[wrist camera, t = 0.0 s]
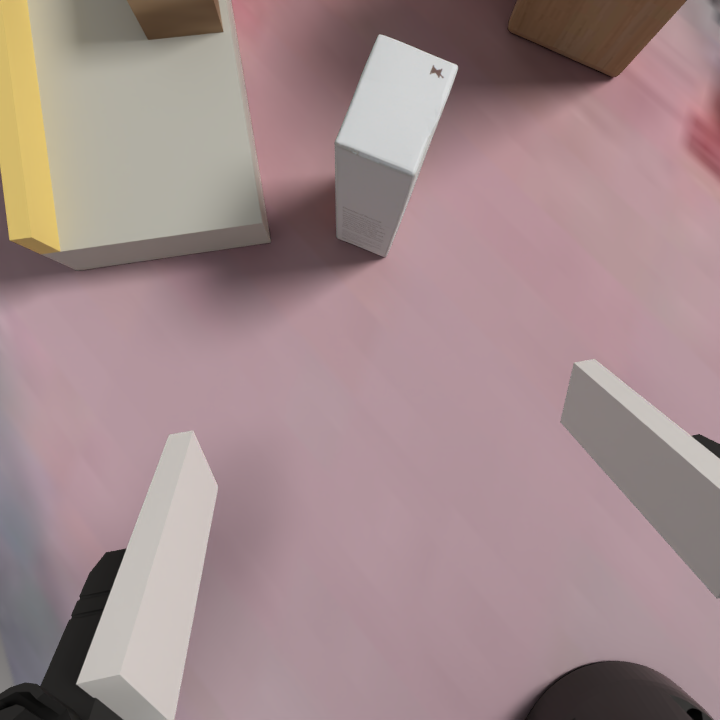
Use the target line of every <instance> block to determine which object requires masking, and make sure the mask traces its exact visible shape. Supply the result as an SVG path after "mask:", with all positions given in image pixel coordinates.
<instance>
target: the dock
mask: <svg viewBox="0 0 720 720" xmlns="http://www.w3.org/2000/svg"><path fill="white" fill-rule="evenodd" d="M218 1H219V7H220V13H221V19H222V25H223V32H220V33H210V34H201V35H191V36H182V37H172V38H163V39H153V40H148V39H147V37H146V35H145V33H144V31H143V30H142V28H141V26H140V24H139V22H138V20H137V18H136V17H135V15H134V13H133V11H132V9H131V7H130V5H129V4H128V2H127V0H0V168H1V176H2V184H3V192H4V200H5V208H6V216H7V224H8V232H9V240H10V241H12V242H14V243H17V244H19V245H21V246H23V247H26V248H28V249H30V250H32V251H34V252H37V253H39V254H41V255H43V256H45V257H48V258H50V259H52V260H54V261H57V262H59V263H61V264H63V265H65V266H68V267H70V268H72V269H74V270H76V271H79V270H86V269H92V268H99V267H106V266H113V265H120V264H127V263H134V262H140V261H147V260H154V259H161V258H168V257H175V256H182V255H188V254H195V253H202V252H209V251H216V250H223V249H230V248H236V247H243V246H250V245H257V244H264V243H271V239H270V233H269V227H268V221H267V215H266V209H265V203H264V197H263V190H262V184H261V178H260V172H259V166H258V160H257V154H256V148H255V142H254V136H253V130H252V124H251V118H250V112H249V105H248V99H247V93H246V87H245V81H244V75H243V69H242V63H241V57H240V51H239V45H238V39H237V33H236V27H235V21H234V14H233V8H232V2H231V0H218Z"/></svg>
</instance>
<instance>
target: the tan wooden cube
mask: <svg viewBox="0 0 720 720" xmlns="http://www.w3.org/2000/svg"><path fill="white" fill-rule="evenodd" d="M127 2H128V4H129V5H130V7H131V9H132V11H133V13H134V15H135V17H136V18H137V20H138V22H139V24H140V26H141V28H142V30H143V31H144V33H145V35H146V37H147V39H148V40H153V39H163V38H172V37H182V36H191V35H201V34H210V33H220V32H223V25H222V19H221V13H220V7H219V1H218V0H127Z"/></svg>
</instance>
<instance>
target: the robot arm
mask: <svg viewBox="0 0 720 720" xmlns="http://www.w3.org/2000/svg"><path fill="white" fill-rule="evenodd" d="M560 422H561V423H562V424H563V426H564V427H565V428H566V429H567V430H568V431H569V432H570V433H571V435H572V436H573V437H574V438H575V439H576V440H577V441H578V442H579V444H580V445H581V446H582V447H583V448H584V449H585V450H586V452H587V453H588V454H589V455H590V456H591V457H592V458H593V459H594V461H595V462H596V463H597V464H598V465H599V466H600V467H601V468H602V470H603V471H604V472H605V473H606V474H607V475H608V476H609V477H610V479H611V480H612V481H613V482H614V483H615V484H616V485H617V486H618V488H619V489H620V490H621V491H622V492H623V493H624V494H625V495H626V497H627V498H628V499H629V500H630V501H631V502H632V503H633V505H634V506H635V507H636V508H637V509H638V510H639V511H640V512H641V514H642V515H643V516H644V517H645V518H646V519H647V520H648V521H649V523H650V524H651V525H652V526H653V527H654V528H655V529H656V530H657V532H658V533H659V534H660V535H661V536H662V537H663V538H664V539H665V541H666V542H667V543H668V544H669V545H670V546H671V547H672V549H673V550H674V551H675V552H676V553H677V554H678V555H679V556H680V558H681V559H682V560H683V561H684V562H685V563H686V564H687V565H688V567H689V568H690V569H691V570H692V571H693V572H694V573H695V574H696V576H697V577H698V578H699V579H700V580H701V581H702V582H703V583H704V585H705V586H706V587H707V588H708V589H709V590H710V591H711V593H712V594H713V595H714V596H715V597H716V598H720V444H718V443H716V442H714V441H712V440H710V439H708V438H706V437H704V436H702V435H700V434H698V435H693V436H690V435H689V434H688V433H687V432H685V431H684V430H683V429H682V428H680V427H679V426H678V425H677V424H675V423H674V422H673V421H672V420H670V419H669V418H668V417H667V416H665V415H664V414H663V413H662V412H660V411H659V410H658V409H657V408H655V407H654V406H653V405H652V404H650V403H649V402H648V401H647V400H645V399H644V398H643V397H642V396H640V395H639V394H638V393H636V392H635V391H634V390H633V389H631V388H630V387H629V386H628V385H626V384H625V383H624V382H623V381H621V380H620V379H619V378H618V377H616V376H615V375H614V374H613V373H611V372H610V371H609V370H608V369H606V368H605V367H604V366H603V365H601V364H600V363H599V362H598V361H596V360H595V359H592V360H586V361H581V362H575V363H574V365H573V369H572V373H571V377H570V382H569V386H568V390H567V395H566V399H565V403H564V408H563V412H562V416H561V421H560ZM217 491H218V485H217V483H216V481H215V478H214V476H213V474H212V472H211V469H210V467H209V465H208V463H207V460H206V458H205V456H204V454H203V452H202V449H201V447H200V445H199V443H198V440H197V438H196V436H195V434H194V431H188V432H182V433H177V434H171V435H169V436H168V439H167V442H166V444H165V447H164V450H163V453H162V455H161V458H160V461H159V463H158V466H157V469H156V471H155V474H154V477H153V479H152V482H151V485H150V487H149V490H148V493H147V495H146V498H145V501H144V503H143V506H142V509H141V511H140V514H139V517H138V520H137V522H136V525H135V528H134V530H133V533H132V536H131V538H130V541H129V544H128V546H127V549H122V550H117V551H111V552H106V553H105V554H104V556H103V557H102V558H101V560H100V561H99V562H98V563H97V565H96V566H95V567H94V568H93V570H92V571H91V572H90V573H89V576H88V578H87V580H86V582H85V585H84V587H83V589H82V592H81V594H80V600H79V601H77V603H76V606H75V608H74V610H73V612H72V615H71V616H72V618H71V620H69V622H68V624H67V626H66V629H65V631H64V633H63V635H62V638H61V640H60V642H59V645H58V647H57V649H56V652H55V654H54V656H53V658H52V661H51V663H50V665H49V668H48V670H47V672H46V675H45V677H44V679H43V682H42V684H41V686H39V685H37V684H32V683H22V684H19V685H16V686H13V687H10V688H9V689H7V690H5V691H4V692H2V693H1V694H0V720H174V719H175V713H176V708H177V703H178V697H179V692H180V687H181V682H182V676H183V671H184V666H185V660H186V655H187V650H188V644H189V639H190V634H191V629H192V623H193V618H194V613H195V607H196V602H197V597H198V591H199V586H200V581H201V576H202V570H203V565H204V560H205V554H206V549H207V544H208V538H209V533H210V528H211V522H212V517H213V512H214V507H215V501H216V496H217ZM526 720H714V719H713V718H712V717H711V716H710V715H709V714H708V712H707V711H706V710H705V709H704V708H703V707H701V706H700V705H699V704H698V703H697V702H696V701H695V700H694V699H692V698H691V697H690V696H689V695H688V694H687V693H686V692H684V691H683V690H682V689H681V688H680V687H679V686H678V685H676V684H675V683H674V682H673V681H671V680H670V679H669V678H667V677H666V676H664V675H662V674H661V673H659V672H657V671H655V670H653V669H651V668H648V667H646V666H642V665H639V664H635V663H630V662H620V661H609V662H601V663H596V664H592V665H588V666H585V667H582V668H580V669H578V670H575V671H573V672H571V673H570V674H568V675H566V676H565V677H563V678H562V679H560V680H559V681H557V682H556V683H555V684H554V685H553V686H551V687H550V688H549V689H548V690H547V691H546V692H545V693H544V694H543V695H542V697H541V698H540V699H539V700H538V702H537V703H536V704H535V706H534V707H533V709H532V710H531V712H530V714H529V715H528V717H527V719H526Z"/></svg>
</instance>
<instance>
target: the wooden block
mask: <svg viewBox="0 0 720 720" xmlns="http://www.w3.org/2000/svg"><path fill="white" fill-rule="evenodd" d="M686 1H687V0H517V2H516V4H515V7H514V9H513V12H512V14H511V17H510V19H509V22H508V30H509V31H510V32H512V33H514V34H516V35H519V36H521V37H523V38H525V39H528V40H530V41H532V42H534V43H537V44H539V45H541V46H544V47H546V48H548V49H550V50H553V51H555V52H557V53H559V54H562V55H564V56H566V57H568V58H571V59H573V60H575V61H577V62H580V63H582V64H584V65H586V66H589V67H591V68H593V69H595V70H598V71H600V72H602V73H604V74H607V75H609V76H611V77H616V76H618V75H619V74H620V73H621V72H622V71H623V70H624V69H625V68H626V67H627V66H628V65H629V64H630V62H631V61H632V60H633V59H634V58H635V57H636V56H637V55H638V54H639V53H640V51H641V50H642V49H643V48H644V47H645V46H646V45H647V44H648V43H649V42H650V40H651V39H652V38H653V37H654V36H655V35H656V34H657V33H658V32H659V31H660V29H661V28H662V27H663V26H664V25H665V24H666V23H667V22H668V21H669V20H670V18H671V17H672V16H673V15H674V14H675V13H676V12H677V11H678V10H679V9H680V7H681V6H682V5H683V4H684V3H685V2H686Z"/></svg>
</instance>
